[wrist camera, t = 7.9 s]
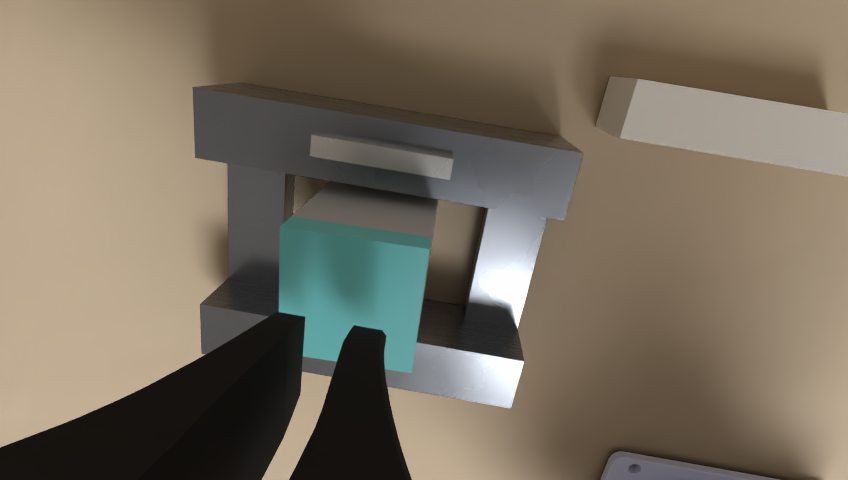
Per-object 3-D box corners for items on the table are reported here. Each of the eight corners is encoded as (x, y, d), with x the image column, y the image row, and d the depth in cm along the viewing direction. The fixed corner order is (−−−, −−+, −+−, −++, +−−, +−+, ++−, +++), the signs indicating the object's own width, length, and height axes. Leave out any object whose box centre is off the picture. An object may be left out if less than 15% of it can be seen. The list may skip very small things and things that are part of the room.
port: (561, 136, 15) (586, 155, 12) (503, 356, 19) (511, 414, 16) (241, 82, 16) (186, 87, 12) (240, 310, 19) (197, 358, 16)
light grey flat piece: (945, -135, 12) (1060, -181, 10) (805, 162, 15) (868, 180, 13) (682, -176, 12) (734, -231, 10) (595, 126, 15) (619, 138, 13)
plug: (440, 185, 16) (429, 249, 11) (427, 275, 18) (411, 373, 12) (341, 171, 16) (279, 226, 11) (335, 261, 18) (278, 352, 12)
